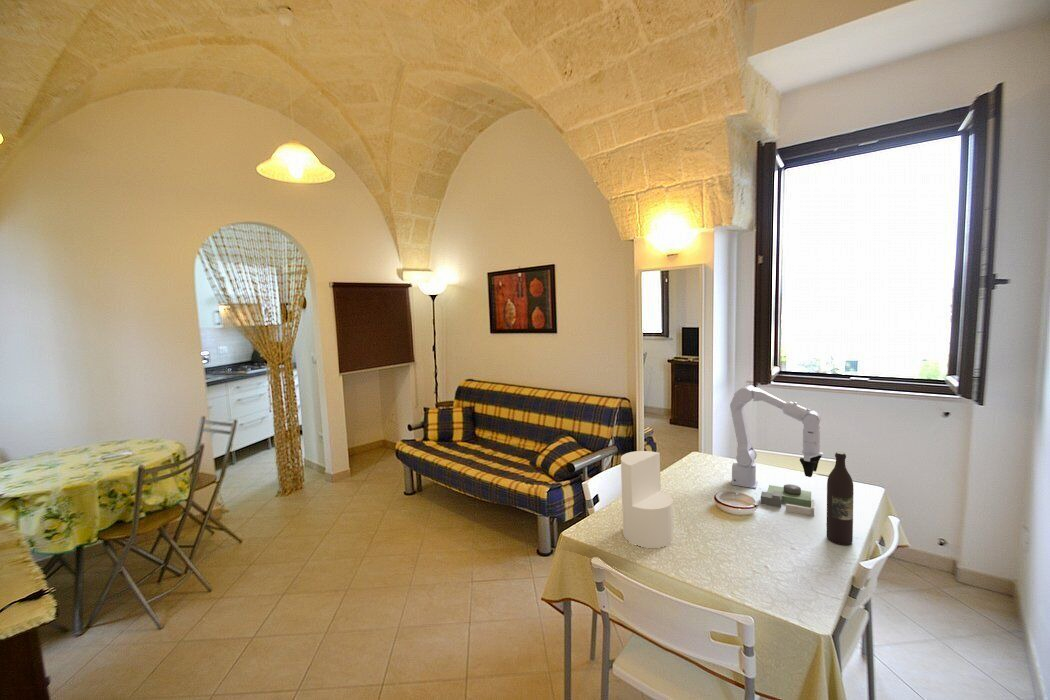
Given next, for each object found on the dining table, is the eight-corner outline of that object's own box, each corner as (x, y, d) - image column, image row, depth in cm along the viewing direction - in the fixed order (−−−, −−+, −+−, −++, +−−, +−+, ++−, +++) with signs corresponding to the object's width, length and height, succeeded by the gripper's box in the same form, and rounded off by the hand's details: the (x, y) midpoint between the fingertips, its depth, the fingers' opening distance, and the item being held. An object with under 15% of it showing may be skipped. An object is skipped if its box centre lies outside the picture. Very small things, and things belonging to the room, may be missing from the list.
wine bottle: (828, 543, 142) (829, 455, 139) (824, 533, 148) (825, 448, 145) (854, 547, 139) (856, 457, 136) (850, 537, 145) (851, 450, 142)
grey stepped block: (760, 504, 172) (760, 493, 171) (762, 499, 176) (761, 488, 175) (781, 508, 168) (781, 496, 167) (781, 503, 172) (781, 491, 171)
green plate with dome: (765, 507, 169) (765, 496, 168) (769, 490, 183) (769, 480, 183) (814, 516, 160) (814, 504, 159) (814, 498, 174) (814, 487, 174)
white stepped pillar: (613, 535, 154) (610, 459, 151) (641, 518, 165) (639, 447, 162) (655, 554, 140) (653, 472, 138) (683, 535, 151) (681, 458, 149)
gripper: (818, 447, 165) (818, 481, 167) (826, 438, 176) (826, 470, 177) (797, 444, 170) (797, 477, 172) (806, 435, 181) (806, 466, 182)
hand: (810, 473), depth 175 cm, fingers open, 7 cm apart
